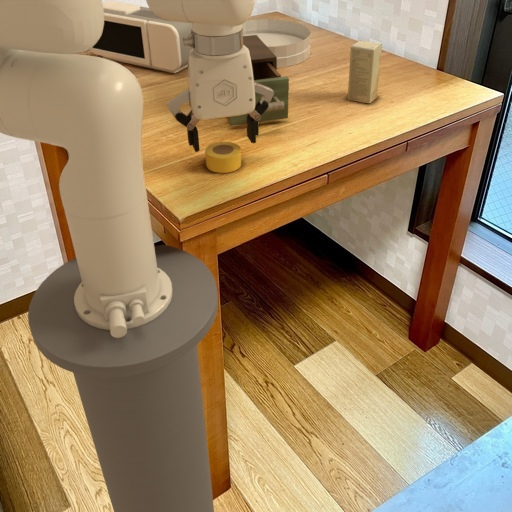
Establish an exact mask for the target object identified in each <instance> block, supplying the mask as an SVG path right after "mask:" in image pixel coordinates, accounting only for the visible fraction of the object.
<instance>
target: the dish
mask: <svg viewBox="0 0 512 512" xmlns="http://www.w3.org/2000/svg"><path fill="white" fill-rule="evenodd" d="M242 25H243V36H250V35H257V36H258V37H259V38H260V39H261V41H262V42H263V43H264V44H265V45H266V46H267V47H268V48H269V49H270V50H271V51H272V52H273V53H274V55H275V56H276V57H277V69H282V68H288V67H292V66H296V65H298V64H301V63H304V62H305V61H306V60H307V59H309V58H310V56H311V51H312V50H311V49H312V47H311V46H312V44H311V33H312V32H311V30H310V28H309V27H307V26H306V25H305V24H302V23H299V22H296V21H291V20H287V19H280V18H279V19H278V18H256V19H255V18H254V19H248V20H247V21H245V22H244V23H243V24H242Z"/></svg>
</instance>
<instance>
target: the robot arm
mask: <svg viewBox="0 0 512 512" xmlns="http://www.w3.org/2000/svg"><path fill="white" fill-rule="evenodd" d="M145 1H146V4H147V6H148V8H150V9H151V11H152V12H153V13H154V14H155V15H157V16H158V17H160V18H162V19H165V20H169V21H177V22H186V23H191V26H192V29H191V33H190V35H188V36H187V37H183V44H184V46H189V47H192V48H193V49H191V50H190V53H189V62H188V67H187V88H186V89H185V90H183V91H182V92H181V93H179V94H177V95H176V96H175V97H173V98H171V99H170V100H169V101H167V102H166V106H167V109H168V110H169V111H170V113H171V114H172V116H173V117H174V118H175V119H176V120H175V121H176V122H178V123H180V124H181V125H182V126H184V128H186V133H187V135H186V136H187V142H188V146H190V147H191V146H192V148H193V151H194V153H198V152H199V151H201V150H200V140H199V130H198V127H197V125H198V123H199V122H200V121H208V120H209V121H210V120H216V119H222V118H223V119H224V118H229V117H231V116H238V115H244V114H247V124H246V136H247V138H248V140H249V141H250V143H251V144H256V143H257V136H259V122H258V120H260V119H261V115H262V114H263V113H264V112H265V111H266V110H267V108H268V107H269V103H270V102H271V99H272V97H273V95H274V91H273V90H272V89H271V88H269V87H267V86H264V85H262V84H259V83H256V82H254V78H253V70H252V63H251V58H250V53H249V49H248V48H247V47H246V46H244V45H243V25H242V24H243V23H244V22H245V21H247V20H249V18H250V17H251V16H252V13H253V11H254V8H255V3H256V0H145ZM103 27H104V10H103V1H102V0H0V133H1V134H2V135H4V136H5V135H6V136H8V137H12V138H16V139H20V140H21V139H22V140H25V141H31V142H37V143H41V144H43V143H44V144H48V145H51V146H56V147H60V148H64V149H65V150H66V151H67V152H68V159H67V162H66V164H65V165H64V167H63V169H62V172H61V174H60V178H59V183H58V186H59V187H58V188H59V195H60V199H61V203H62V207H63V209H64V214H65V218H66V223H67V226H68V230H69V234H70V238H71V243H72V247H73V250H74V254H75V258H76V259H77V263H78V267H79V271H80V275H81V279H82V282H81V283H80V285H79V286H78V288H77V290H76V292H75V296H74V304H75V308H76V311H77V313H78V315H79V317H80V318H81V319H82V320H83V321H84V322H86V323H88V324H89V325H91V326H94V327H97V328H100V329H105V330H110V333H111V335H112V336H113V337H116V338H120V337H123V336H125V334H126V333H127V329H131V328H135V327H138V326H141V325H144V324H146V323H148V322H150V321H152V320H154V319H155V318H157V317H158V316H159V315H161V314H162V313H163V312H164V311H165V310H166V308H167V307H168V305H169V304H170V302H171V299H172V292H173V290H172V283H171V281H170V278H169V277H168V275H167V274H166V273H165V272H164V271H162V270H161V269H159V268H157V262H156V255H155V248H154V246H155V242H154V234H153V229H152V222H151V221H152V220H151V214H150V207H149V199H148V193H147V187H146V179H145V173H144V163H143V145H142V144H143V140H142V139H143V119H144V96H143V95H144V94H143V90H142V87H141V84H140V82H139V81H138V79H137V77H136V75H135V74H133V73H132V71H130V70H129V69H128V68H127V67H125V65H124V66H123V65H122V64H121V63H119V62H117V61H115V60H111V59H106V58H103V57H99V56H95V55H87V54H80V53H82V52H86V51H87V50H90V49H89V48H91V47H93V46H94V45H95V44H96V43H97V41H98V40H99V39H100V37H101V35H102V32H103ZM255 92H256V93H259V94H262V99H261V100H260V101H259V102H258V103H257V104H256V105H255ZM187 102H188V104H189V107H190V109H189V111H188V112H187V113H186V114H185V113H184V112H182V110H180V107H181V106H184V105H185V104H186V103H187Z"/></svg>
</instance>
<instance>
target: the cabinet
mask: <svg viewBox="0 0 512 512" xmlns="http://www.w3.org/2000/svg"><path fill="white" fill-rule="evenodd" d="M243 45H244V46H246V47H247V48H248V49H249V53H250V58H251V63H252V64H254V63H263V62H270V63H271V65H272V66H273V67H274V68H275V69H276V70H277V71H278V68H277V57H276V56H275V55H274V53H273V52H272V51H271V50H270V49H269V48H268V47H267V46H266V45H265V44H264V43H263V42H262V41H261V39H260V38H259V37H258V36H257V35H250V36H243Z"/></svg>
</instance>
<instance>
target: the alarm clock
mask: <svg viewBox="0 0 512 512" xmlns="http://www.w3.org/2000/svg"><path fill="white" fill-rule="evenodd" d="M102 4H103V10H104V27H103V32H102V35H101V37H100V39H99V40H98V41H97V43H96V44H95V45H94V46H93V47H91V48H89V49H88V50H90V52H92V53H93V54H94V55H96V56H101V57H102V58H105V59H108V60H111V61H114V62H120V63H126V64H129V65H134V66H138V67H144V68H148V69H153V70H158V71H163V72H167V73H172V74H176V73H178V72H180V71H182V70H184V69H186V68H188V62H189V53H190V50H191V49H193V48H192V47H189V46H184V44H183V37H187V36H188V35H190V33H191V29H192V26H191V23H186V22H177V21H169V20H165V19H162V18H160V17H158V16H157V15H155V14H154V13H153V12H152V11H151V9H150V8H149V7H147V6H140V5H137V4H132V3H125V2H119V1H114V0H109V1H105V2H102Z"/></svg>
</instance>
